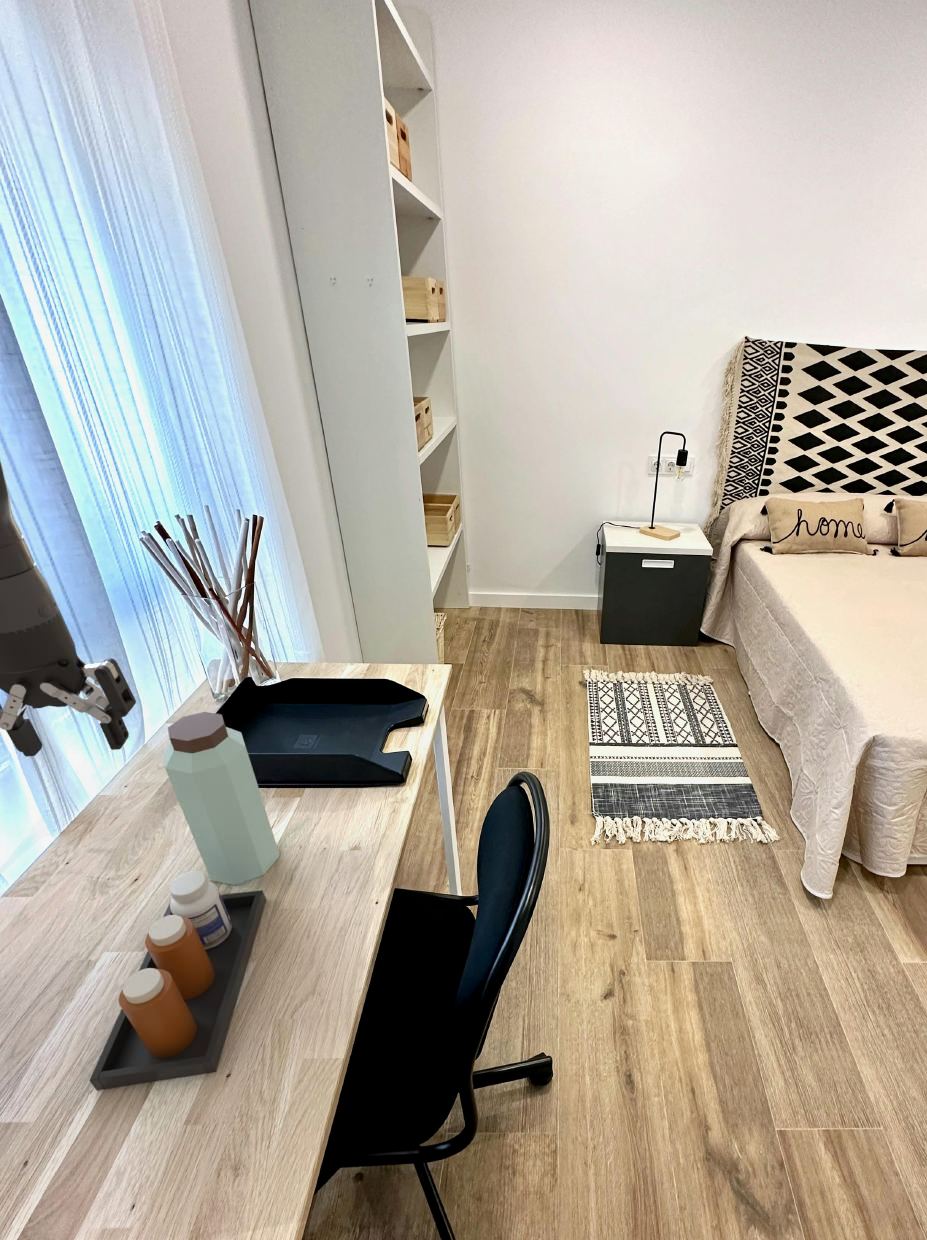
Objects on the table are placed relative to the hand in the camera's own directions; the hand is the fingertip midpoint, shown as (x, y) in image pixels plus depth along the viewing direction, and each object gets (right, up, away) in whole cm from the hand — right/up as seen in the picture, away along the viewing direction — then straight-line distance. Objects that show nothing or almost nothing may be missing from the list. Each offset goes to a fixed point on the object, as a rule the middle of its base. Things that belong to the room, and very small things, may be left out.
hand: (77, 749), depth 70 cm
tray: (+9, -30, +7) cm, 32 cm away
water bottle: (+7, -19, +23) cm, 31 cm away
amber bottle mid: (+9, -29, +6) cm, 31 cm away
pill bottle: (+8, -25, +12) cm, 29 cm away
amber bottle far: (+10, -32, 0) cm, 34 cm away
